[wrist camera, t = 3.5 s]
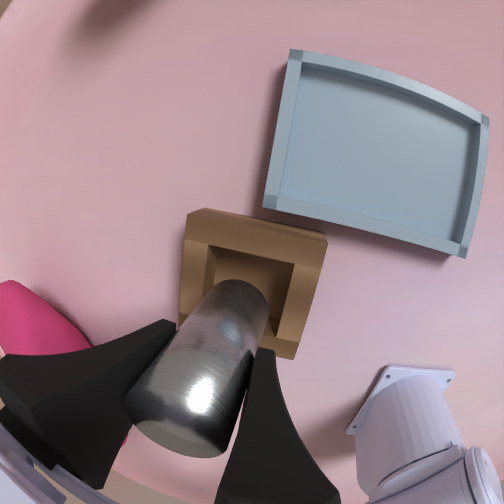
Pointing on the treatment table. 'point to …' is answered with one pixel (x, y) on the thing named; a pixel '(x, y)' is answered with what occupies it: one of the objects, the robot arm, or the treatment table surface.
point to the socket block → (254, 268)
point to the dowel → (202, 373)
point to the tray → (377, 153)
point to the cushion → (34, 325)
